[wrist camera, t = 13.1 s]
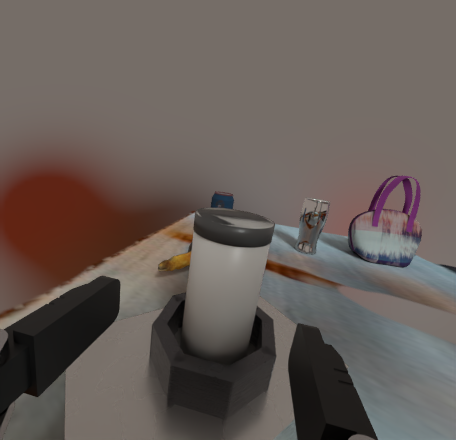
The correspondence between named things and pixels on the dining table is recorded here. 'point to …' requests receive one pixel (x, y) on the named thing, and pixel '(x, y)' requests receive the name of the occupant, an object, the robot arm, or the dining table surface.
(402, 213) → the handbag
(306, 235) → the beer glass
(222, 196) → the soda can
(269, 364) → the slab with octagonal socket
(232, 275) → the canister
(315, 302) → the dining table surface
